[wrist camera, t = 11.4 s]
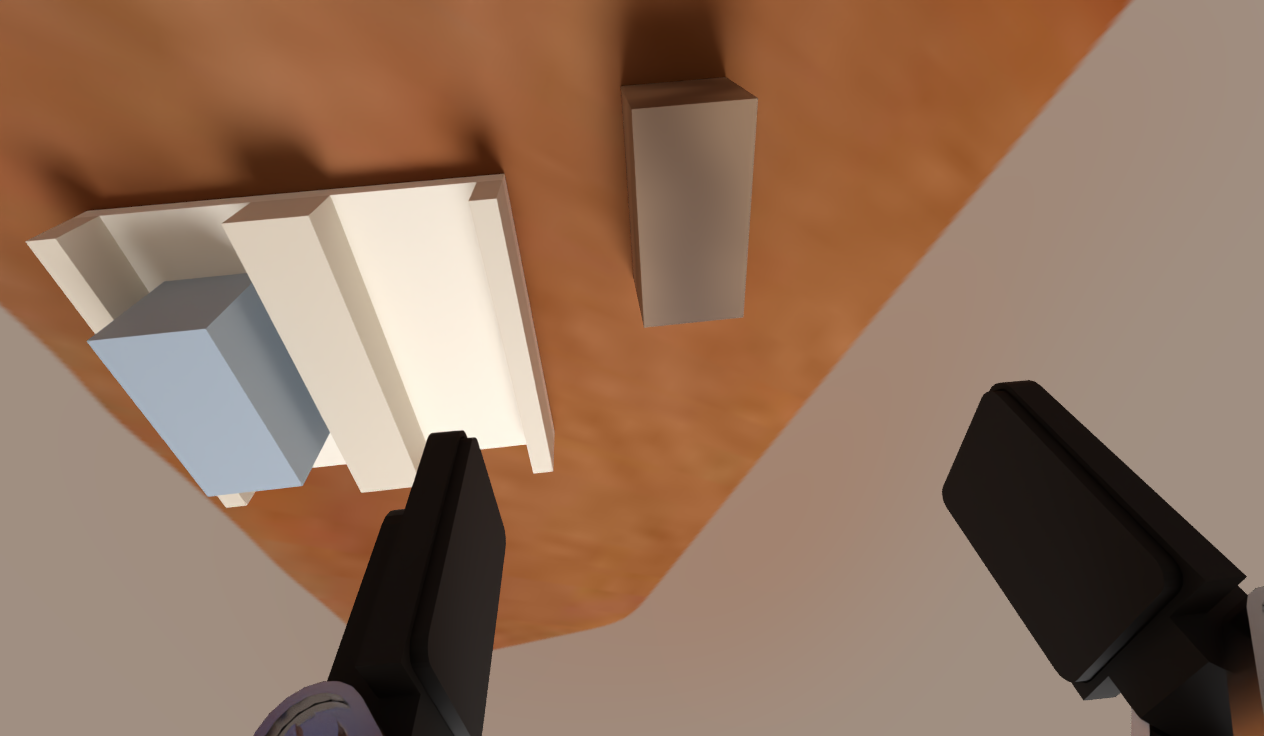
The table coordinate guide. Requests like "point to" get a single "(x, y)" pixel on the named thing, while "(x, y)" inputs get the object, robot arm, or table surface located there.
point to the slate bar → (216, 384)
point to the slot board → (399, 280)
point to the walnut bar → (689, 196)
